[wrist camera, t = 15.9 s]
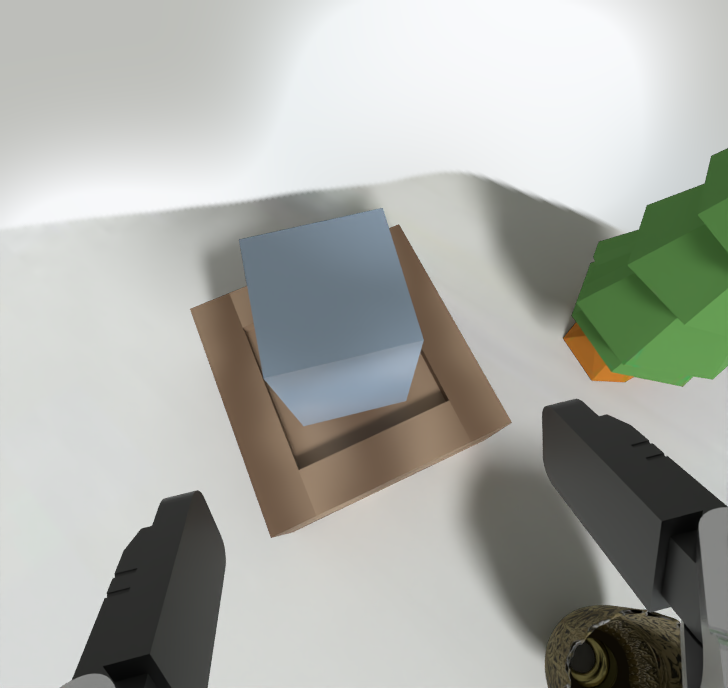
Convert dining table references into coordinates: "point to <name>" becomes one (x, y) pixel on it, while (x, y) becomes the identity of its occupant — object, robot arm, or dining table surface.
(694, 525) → the robot arm
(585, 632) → the cup
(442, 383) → the square wooden tray
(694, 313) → the decorative tree
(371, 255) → the blue-grey square-topped block
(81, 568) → the dining table surface
